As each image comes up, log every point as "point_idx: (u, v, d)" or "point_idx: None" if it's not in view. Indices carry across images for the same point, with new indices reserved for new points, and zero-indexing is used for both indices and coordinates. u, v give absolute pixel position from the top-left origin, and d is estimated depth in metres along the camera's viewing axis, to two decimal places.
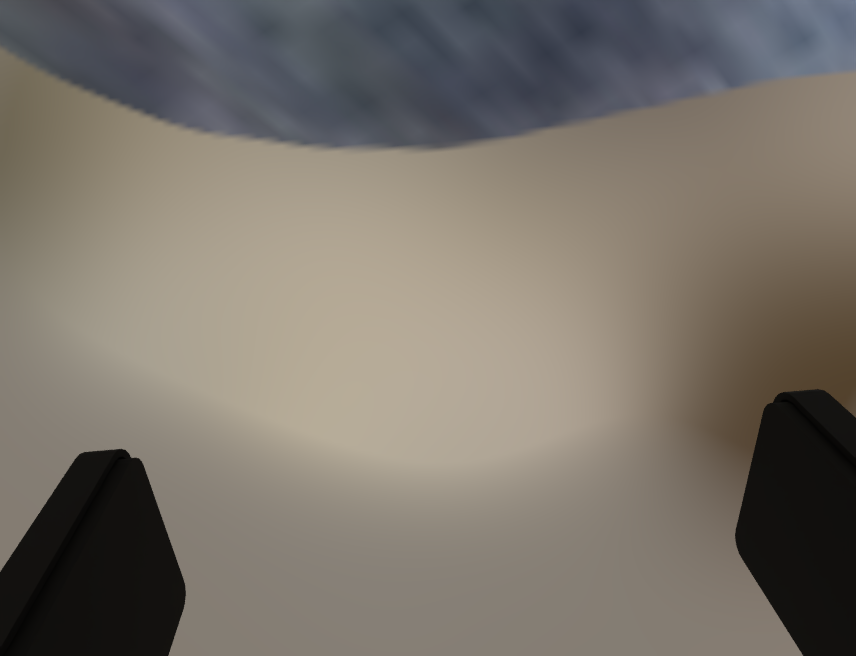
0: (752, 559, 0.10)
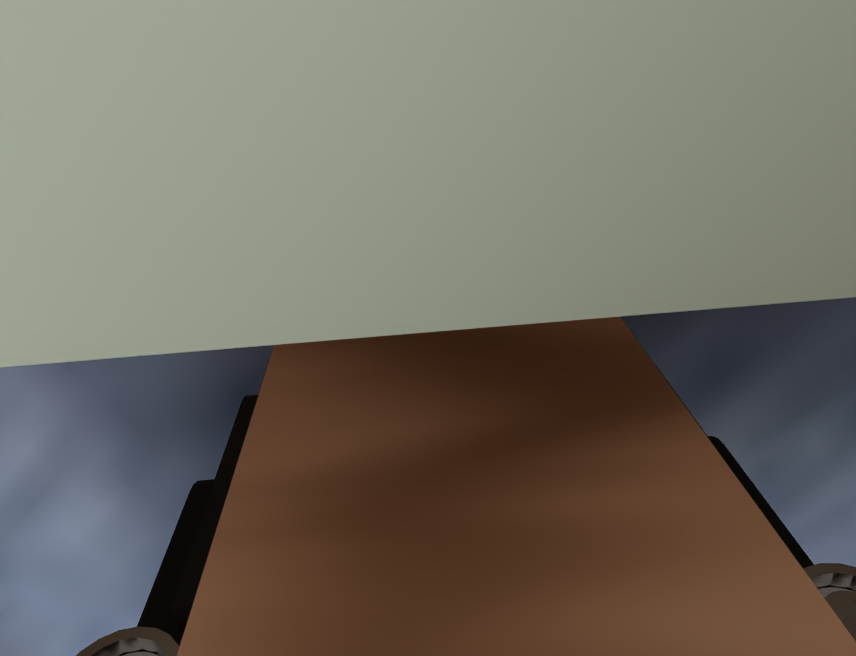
0: None
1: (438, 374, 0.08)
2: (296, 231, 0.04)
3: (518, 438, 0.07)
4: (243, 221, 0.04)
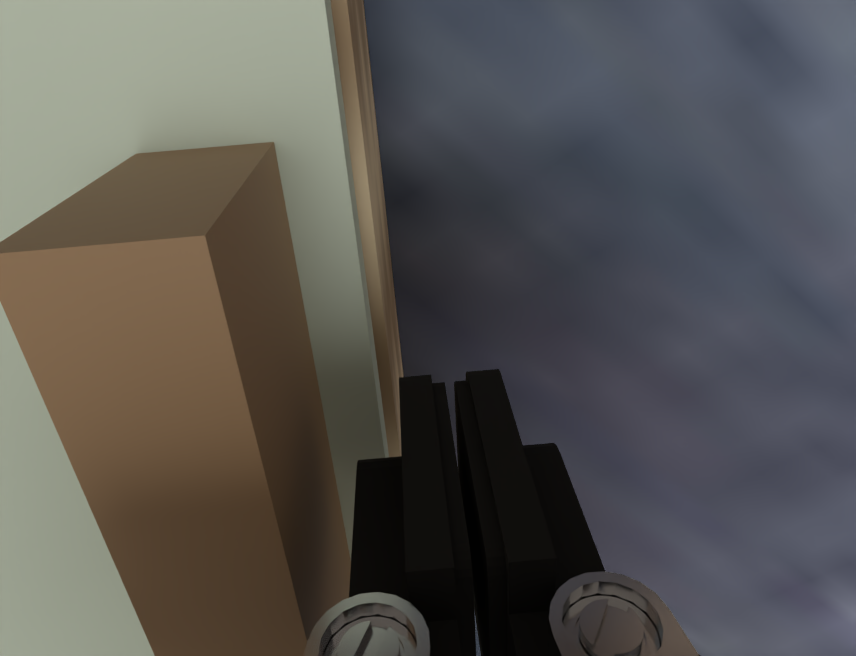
0: None
1: None
2: None
3: None
4: None
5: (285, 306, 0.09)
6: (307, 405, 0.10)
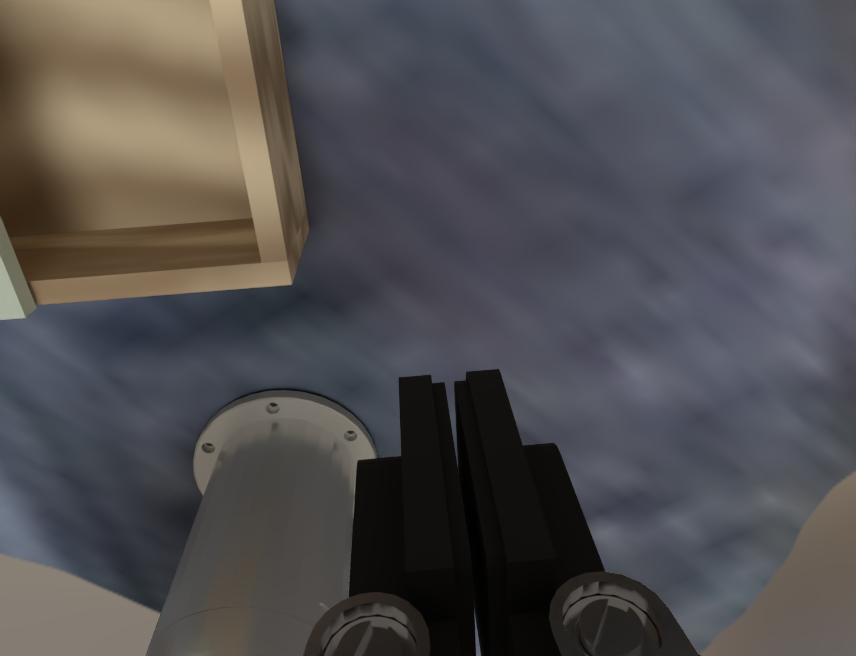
0: None
1: None
2: None
3: None
4: None
5: None
6: None
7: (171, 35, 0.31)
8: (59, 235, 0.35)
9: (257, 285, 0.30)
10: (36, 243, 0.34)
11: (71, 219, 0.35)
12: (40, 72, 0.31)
